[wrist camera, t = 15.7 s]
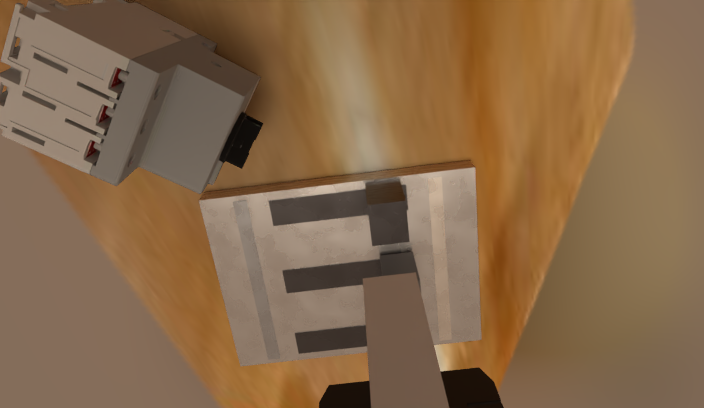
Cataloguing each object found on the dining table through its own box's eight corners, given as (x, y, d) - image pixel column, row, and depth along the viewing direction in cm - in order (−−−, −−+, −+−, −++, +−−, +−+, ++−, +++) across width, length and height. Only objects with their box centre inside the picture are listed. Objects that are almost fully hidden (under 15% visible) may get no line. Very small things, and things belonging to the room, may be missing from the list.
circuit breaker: (249, 155, 47) (211, 228, 33) (91, 79, 45) (-23, 125, 31) (286, 78, 45) (260, 123, 31) (120, -6, 42) (10, 1, 28)
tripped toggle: (379, 255, 49) (383, 287, 44) (412, 251, 48) (420, 282, 44) (383, 289, 50) (388, 323, 45) (415, 285, 50) (423, 319, 45)
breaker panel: (204, 192, 49) (182, 224, 42) (469, 159, 48) (489, 188, 41) (243, 353, 55) (230, 402, 49) (476, 327, 55) (494, 374, 48)
